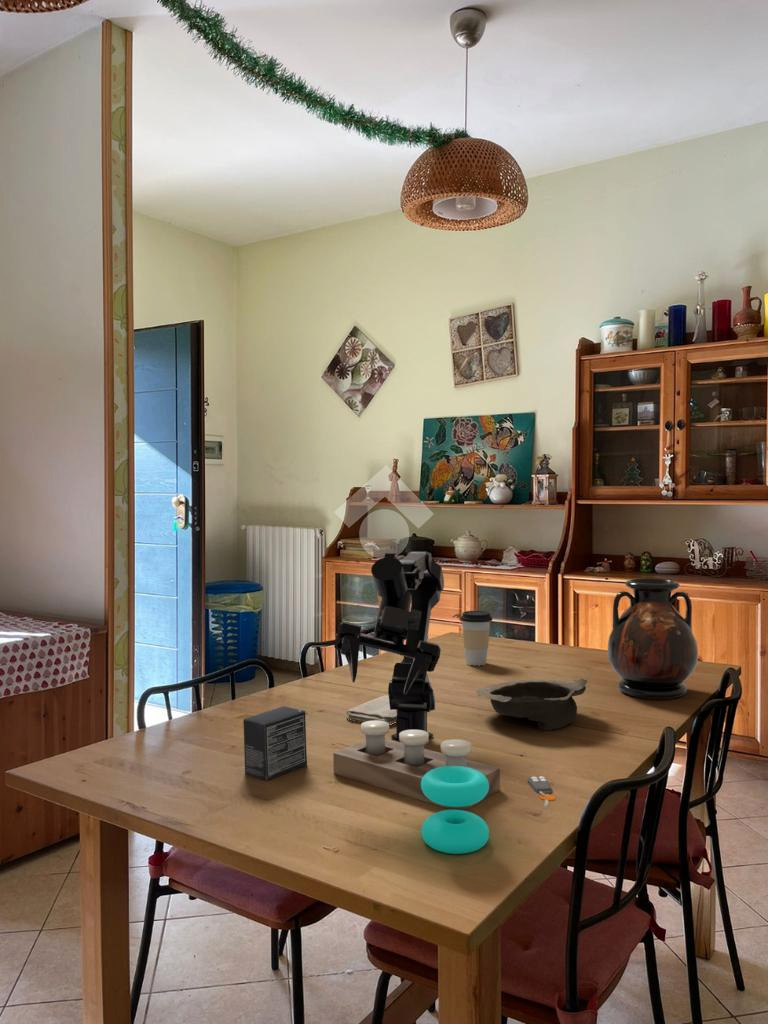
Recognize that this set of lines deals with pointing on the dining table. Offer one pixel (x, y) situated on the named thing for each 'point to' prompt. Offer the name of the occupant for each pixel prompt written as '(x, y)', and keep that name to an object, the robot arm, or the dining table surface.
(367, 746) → the knob
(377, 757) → the mount
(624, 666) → the amphora vase
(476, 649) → the coffee cup
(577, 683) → the stone bowl
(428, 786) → the donuts
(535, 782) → the key chain
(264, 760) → the small box
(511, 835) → the dining table surface
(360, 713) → the washcloth
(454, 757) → the knob
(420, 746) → the knob middle
